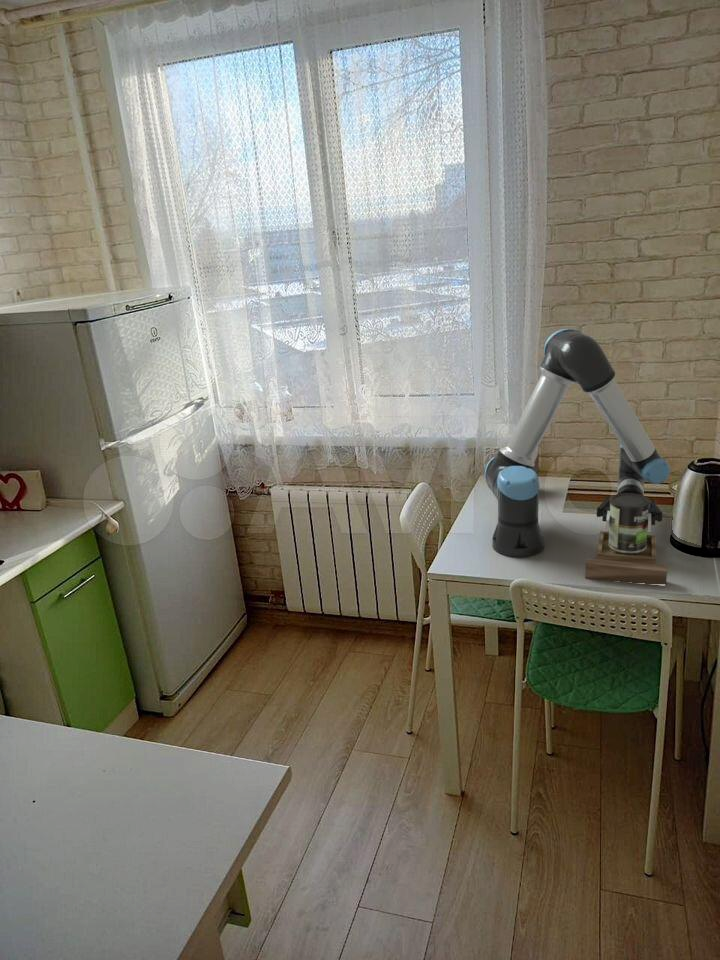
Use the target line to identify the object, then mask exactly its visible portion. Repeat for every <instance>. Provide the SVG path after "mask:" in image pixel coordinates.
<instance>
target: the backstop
mask: <svg viewBox="0 0 720 960" xmlns="http://www.w3.org/2000/svg"><path fill="white" fill-rule="evenodd" d="M584 567H585V569H584V570H585V571H584V572H585V573H584V579H586V580H595V581H604V582H613V581H620V582H619V583H622V582H632V583H645V584H666V585H667V576H668V565H664V564H655V565H654V564H643V563H633V562H622V561H611V560H601V559H597V558H588V557H586V560H585V566H584ZM632 583H631V584H632Z"/></svg>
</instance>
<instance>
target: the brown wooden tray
mask: <svg viewBox="0 0 720 960" xmlns="http://www.w3.org/2000/svg"><path fill="white" fill-rule="evenodd" d="M598 538H599V539H598V547H597V554H596V559H601V560H611V561H622V562H633V563H643V564H654V565H656V558H657V557H656V551H657V549H656V535H653V534H652V535H651V534H647V543H646V546H647V547H646V549H645V550H644V551H642V552H639V553H621V552H618V551H615V550H613V549H611V548H610V547H609V546H608V542H609V531H602V530H600V532H599V537H598Z"/></svg>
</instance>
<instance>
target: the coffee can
mask: <svg viewBox="0 0 720 960" xmlns="http://www.w3.org/2000/svg"><path fill="white" fill-rule="evenodd" d="M609 498H610V523H609V529H608V532H609V542H608V546H609V547H610V548H611V549H613V550H615V551H618V552H621V553H639V552H642V551H644V550H645V549H646V547H647V546H646V543H647V535H648V514H649V504H650V501H651V499H649V497H647V496H645V495H644V496H643V495H639V494H634V493H621V494H617V493H616V494H613V495H612V496H610V497H609Z"/></svg>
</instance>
